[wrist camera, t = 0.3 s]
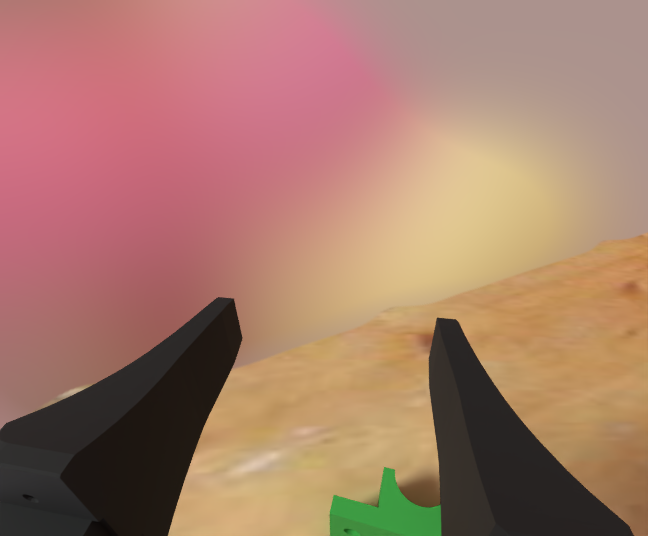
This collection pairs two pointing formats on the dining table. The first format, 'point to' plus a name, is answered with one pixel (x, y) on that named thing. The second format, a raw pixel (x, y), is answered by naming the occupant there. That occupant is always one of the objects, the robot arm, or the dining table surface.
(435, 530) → the pipe clamp
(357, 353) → the dining table surface
